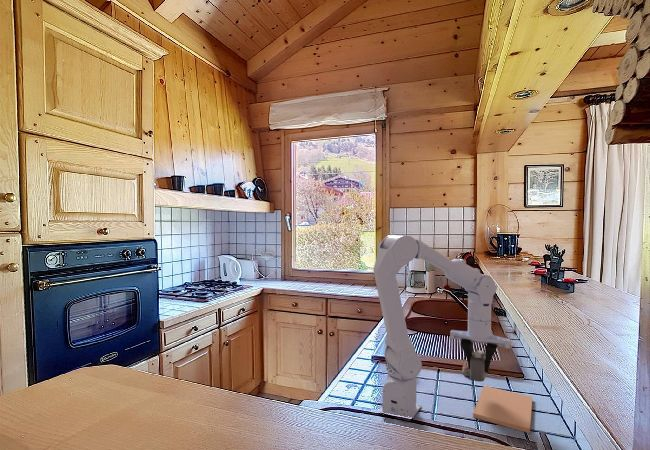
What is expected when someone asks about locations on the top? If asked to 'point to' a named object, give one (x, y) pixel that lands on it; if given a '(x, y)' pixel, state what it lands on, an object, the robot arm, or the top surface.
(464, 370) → the figurine
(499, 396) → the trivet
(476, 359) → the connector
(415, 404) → the robot arm
